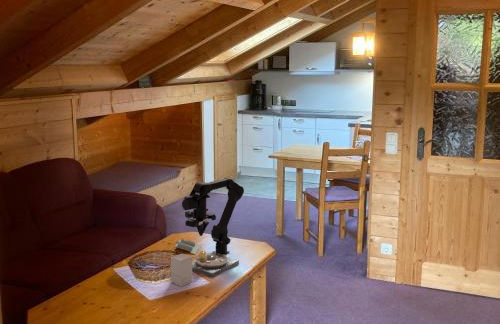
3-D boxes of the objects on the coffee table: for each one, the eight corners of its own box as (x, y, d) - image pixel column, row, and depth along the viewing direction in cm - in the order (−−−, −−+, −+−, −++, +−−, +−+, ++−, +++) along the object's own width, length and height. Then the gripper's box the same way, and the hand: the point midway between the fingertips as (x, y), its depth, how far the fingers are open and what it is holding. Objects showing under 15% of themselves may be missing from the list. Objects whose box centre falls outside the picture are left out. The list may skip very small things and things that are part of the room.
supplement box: (192, 282, 252) (192, 256, 250) (180, 286, 247) (180, 260, 245) (182, 277, 257) (182, 252, 255) (170, 282, 252) (170, 256, 250)
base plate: (210, 256, 287) (210, 252, 287) (238, 263, 277) (238, 259, 276) (182, 268, 269) (182, 264, 269) (212, 277, 259) (212, 272, 258)
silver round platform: (210, 254, 283) (210, 241, 282) (233, 261, 274) (233, 248, 273) (189, 262, 271) (189, 249, 270) (212, 270, 261) (212, 256, 260)
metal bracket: (173, 243, 290) (179, 235, 304) (170, 253, 291) (177, 244, 305) (198, 252, 289) (203, 243, 304) (195, 261, 290) (200, 252, 305)
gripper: (200, 201, 289) (200, 228, 292) (177, 208, 274) (177, 237, 277) (216, 204, 283) (216, 232, 286) (193, 211, 268) (194, 241, 271)
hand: (200, 235), depth 280 cm, fingers closed
